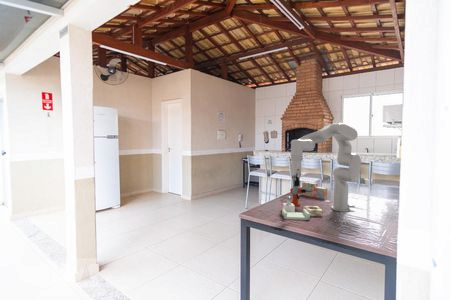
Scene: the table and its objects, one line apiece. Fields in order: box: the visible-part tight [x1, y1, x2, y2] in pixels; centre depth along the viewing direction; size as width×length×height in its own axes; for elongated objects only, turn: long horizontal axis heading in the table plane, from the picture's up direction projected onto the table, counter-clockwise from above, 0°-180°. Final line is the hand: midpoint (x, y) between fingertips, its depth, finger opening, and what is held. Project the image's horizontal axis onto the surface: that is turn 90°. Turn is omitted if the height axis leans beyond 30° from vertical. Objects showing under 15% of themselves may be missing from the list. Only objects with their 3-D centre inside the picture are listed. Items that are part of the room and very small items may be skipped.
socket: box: [303, 205, 324, 217], centre depth 160 cm, size 10×10×4 cm
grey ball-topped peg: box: [285, 195, 293, 205], centre depth 165 cm, size 4×4×10 cm
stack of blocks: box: [301, 180, 328, 200], centre depth 209 cm, size 21×6×12 cm, turn 41°
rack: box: [281, 208, 311, 221], centre depth 153 cm, size 16×10×4 cm, turn 86°
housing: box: [282, 202, 296, 212], centre depth 165 cm, size 7×7×5 cm
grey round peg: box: [291, 176, 300, 196], centre depth 152 cm, size 4×4×11 cm
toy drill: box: [289, 187, 312, 207], centre depth 177 cm, size 5×19×15 cm, turn 42°
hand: (295, 185), depth 152 cm, fingers closed on grey round peg, 4 cm apart
